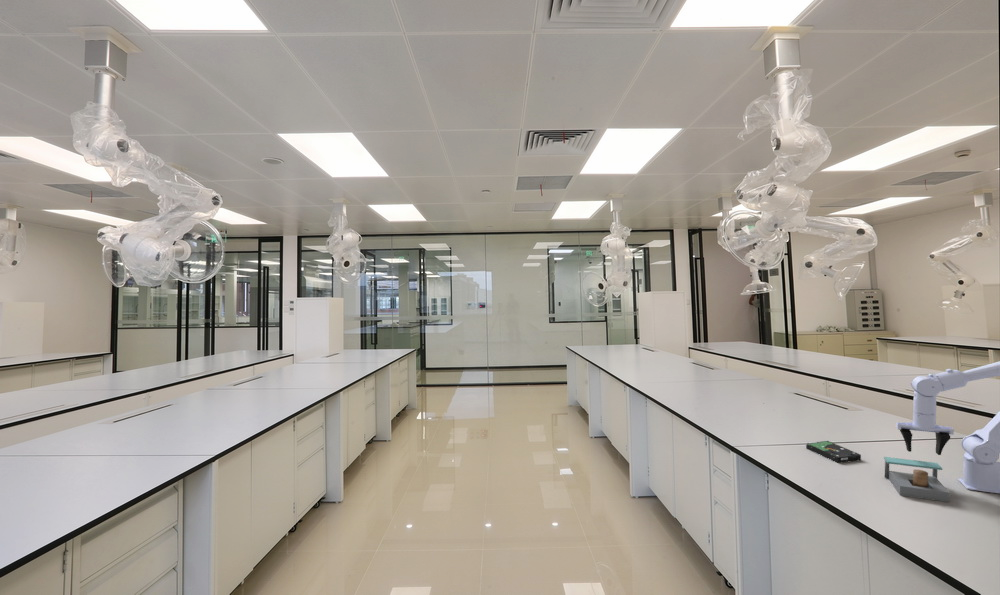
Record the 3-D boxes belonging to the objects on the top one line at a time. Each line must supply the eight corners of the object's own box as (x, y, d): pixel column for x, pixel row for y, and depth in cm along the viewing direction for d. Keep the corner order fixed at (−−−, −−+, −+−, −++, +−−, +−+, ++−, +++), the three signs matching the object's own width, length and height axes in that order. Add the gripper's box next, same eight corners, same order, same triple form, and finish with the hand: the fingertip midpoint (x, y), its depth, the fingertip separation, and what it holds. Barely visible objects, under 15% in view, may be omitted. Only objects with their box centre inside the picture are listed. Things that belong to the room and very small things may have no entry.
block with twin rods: (936, 483, 158) (937, 462, 158) (941, 489, 154) (942, 468, 154) (883, 476, 164) (884, 456, 164) (887, 481, 160) (887, 461, 160)
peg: (929, 496, 150) (930, 474, 149) (915, 495, 151) (916, 473, 151) (924, 491, 153) (924, 470, 153) (910, 490, 154) (911, 468, 154)
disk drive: (861, 461, 178) (827, 446, 193) (861, 454, 178) (827, 440, 192) (837, 464, 176) (805, 449, 191) (838, 457, 176) (805, 442, 190)
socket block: (934, 485, 157) (935, 476, 157) (949, 502, 146) (949, 492, 146) (888, 479, 162) (889, 470, 162) (899, 495, 151) (900, 485, 151)
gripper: (948, 411, 160) (947, 451, 161) (893, 407, 167) (892, 445, 167) (956, 417, 154) (955, 458, 155) (899, 413, 160) (898, 452, 161)
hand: (923, 452), depth 161 cm, fingers open, 7 cm apart
